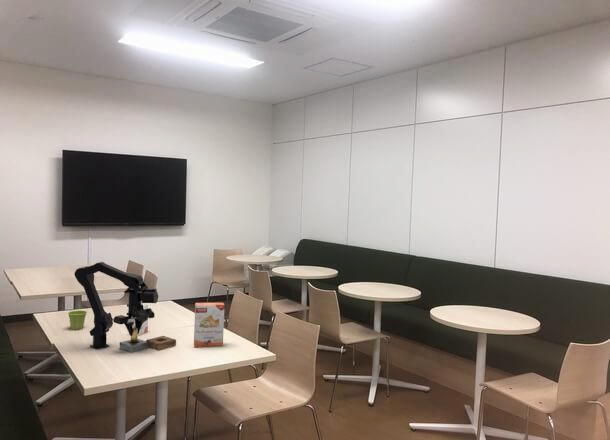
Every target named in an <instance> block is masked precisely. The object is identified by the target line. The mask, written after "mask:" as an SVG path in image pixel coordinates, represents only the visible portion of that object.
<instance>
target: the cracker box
mask: <svg viewBox="0 0 610 440" xmlns="http://www.w3.org/2000/svg"><path fill="white" fill-rule="evenodd" d="M194 305H195V306H194V307H195V308H194V324H193V326H194V328H193V329H194V331H193V347H194V348H209V347H211V348H212V347H223V346H224V328H225V327H224V326H225V325H224V324H225V303H224V302H195V304H194Z"/></svg>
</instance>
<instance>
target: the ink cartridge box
mask: <svg viewBox="0 0 610 440" xmlns="http://www.w3.org/2000/svg"><path fill="white" fill-rule="evenodd" d="M143 308H144V309H148V308H149V305H148V304H145V305H143ZM132 322H134V324H133V327H135V319H132ZM148 327H149V319H148V320H147V321H145V322H144V323H143V324H142V326H141V328H140V331H139V334H138V336H142V335H143V334H146V333H148V331H149V329H148ZM141 334H142V335H141Z"/></svg>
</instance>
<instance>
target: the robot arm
mask: <svg viewBox="0 0 610 440" xmlns="http://www.w3.org/2000/svg"><path fill="white" fill-rule="evenodd" d="M98 272H100V273H102V274H105V275H106V276H108V277H111V278H114V279H116V280H117V281H120V282H121V283H123V284H124V286H126V287H127V288H126V289H125V291H123V293H124V294H128V303H127V304H126V307H128V308H127V311H128V312H126V315H122V314H120V315H116V316H114V317H112V313H111V312H109V313H107V312H106V311H105V309H104V306H103V303H102V301H101V298H100V295H99V293H98V290H97V287H96V286H95V274H96V273H98ZM74 277H75V279H76V281H77V282H78V284H80V285H81V286H82V287H83V289H84V292H85V295H86V297H87V300H88V302H89V304H90V308H91V310H92V313H93V325H94V327H93V328H92V329H91V330H89V335H90V337H92V344H90V345H89V347H90V348H92V349H96V350H99V349H103V348H107V347H110V344H108V343H107V339H108V338H107V336H108V335H107V333H108V332H109V331H110V329H111V328H112V327H113V325H114V324H117V325H124V326H125V328H126V330H127V332H128V334H129V336H130V337H131V336H132V327H133V324H134V322H132V319H135V327H138V334H139V331H140V328H141V326H142V324H143V323H144V322H145V321H147V320H148V321H149V319H153V318H154V319H155V312H154V311H153V309H152V308H151V307H148V309H145V308H143V306H144V304H158V301H159V293H158V291H157V290H158V289H157V288H149V287H148V286H147V284H146V283H145V281H144V278H143V276H142V275H139V274H135V273H130V272H129V273H128V272H125V271H123V270H121V269H118V268H116V267H114V266H112V265H109V264H107V263H105V262H104V261H100V262H96V263H95V264H91V265H89V266H81V267H78V268H76V270H75V271H74ZM142 303H143V304H142Z"/></svg>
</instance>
